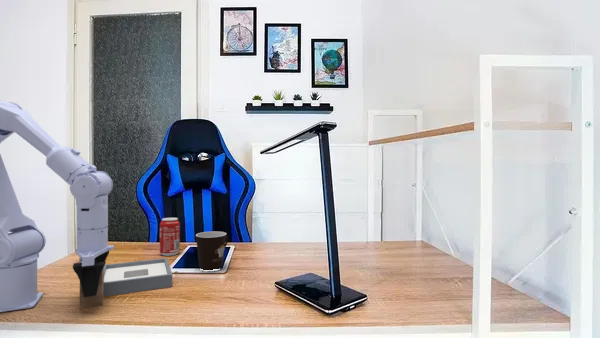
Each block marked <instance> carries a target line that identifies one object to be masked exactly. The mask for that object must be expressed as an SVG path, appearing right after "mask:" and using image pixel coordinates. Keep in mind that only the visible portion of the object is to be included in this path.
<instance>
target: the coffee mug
mask: <svg viewBox="0 0 600 338" xmlns="http://www.w3.org/2000/svg"><path fill="white" fill-rule="evenodd" d="M195 238H196V239H195V240H196V248H197V249H196V250H197V259H198V266H199V269H200V268H201V269H203V270H213V269H219V268H221V267H222V268H223V264H224V256H225V249H226V247H227V245H228V243H229V237H228V235H227V232H224V231H214V230H213V231H203V232H198V233H196V234H195Z"/></svg>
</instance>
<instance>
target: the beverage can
mask: <svg viewBox="0 0 600 338" xmlns="http://www.w3.org/2000/svg"><path fill="white" fill-rule="evenodd" d="M178 219H179V218H178V217H163V218H162V219H161V221H160V223H159V253H160V254H161V256H164V257H171V256H176V255H177V254H178V253H179V252H180V250H181V246H180V245H181V237H180V236H181V222H180V221H179V220H178Z"/></svg>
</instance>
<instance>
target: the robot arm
mask: <svg viewBox="0 0 600 338" xmlns="http://www.w3.org/2000/svg"><path fill="white" fill-rule="evenodd" d="M14 133H15V134H17V135H18V136H19V137H20V138H21V139H23V140H24V141H26V142H27V144H28V143H29V145H30V146H32V147H33V148H34V149H36V150H37V151H38V152H40V153H41V154H42V155H43V156H45V157H46V158H45V164H46V166H47V167H48V168H49V169H50V170H52V171H53V172H54V173H55V174H56V175H57V176H59V177H60V178H61V179H62V180H63V181H64V182H65V183H66V184H68V185H69V190H70V194H71V195H72V196H73V198H74V199H75V206H76V249H75V253H74V254H75V255H76V256H78V258H79V257H80V258H81V259H82V263H80V262H75V263H73V265H72V269H73V271H74V273H76V276H77V277H78V279H79V284H80V283H81V288H82V292H83V295H84V297H90V296H96V294H97V290H98V285H99V279H100V275H101V272H102V269H103V267H104V266H105V265H107V264H106V263H107V261H106V260H107V257H108V256H109V253H110V251H113V250H114V248H115V246H114V245H113V244H112V245H110V244H108V243H109V239H108V238H109V233H108V231H109V202H108V201H109V194H110V193H111V192H112V190H113V188H114V183H113V182H114V181H113V179H112V178H111V176H110V175H109V174H108V173H107V172H106V171H99V170H98V169H97V166H95V165H94V164H90V163H89V162H88V161H87V160H86V159H84V157H83V156H81V155H80V154H81V153H82V152H81V151H80V150H79V149H77V148H72V147H70V146H61V145H60V144H59V143H58V142H57V141H56V140H55V139H54V138H53V137H52V136H51V135H50V134H49V133H48V132H47V131H46V130H45V129H44V128H43V127H42V126H41V125H40V124H39V123H38V122H37V121H36V120H35V119H34V118H33V117H32V115H31V113H30V112H28V111H27V110H25V109H24V108H23V107H22V106H21V105H20V104H18V103H15V102H9V101H4V100H0V144H1V143H2V142H4V141H5V140H6V139H8V138H9V137H10V136H12V135H13V134H14ZM46 239H47V238H46V236H45V234H44V232H43V231H41V229H40V228H38V227H37V224H36V221H34V220H33V219H32V218H30V217H29V216H27V215H25V214H24V213H23V211H22V209H21V206H20V203H19V200H18V198H17V195H16V192H15V190H14V187H13V184H12V181H11V179H10V175H9V174H8V171H7V168H6V166H5V163H4V160H3V157H2V155H1V154H0V313H4V312H9V311H17V310H24V309H30V308H31V309H32V308H34V307H35V306H36V305H37V304H38V302H39V301H40V299H41V298H42V297H43V296H44V292H42V291H41V292H38V258H40V252H42V251H43V250H44V248H45V246H46V243H47V240H46Z"/></svg>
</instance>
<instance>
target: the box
mask: <svg viewBox="0 0 600 338" xmlns="http://www.w3.org/2000/svg"><path fill="white" fill-rule="evenodd" d="M171 287H173V273H172V269H171V266H170V262H169V259H168V258H167V257H165V258H156V259H148V260H147V259H146V260H145V259H144V260H137V261H136V260H134V261H128V262H116V263H110V264H109V263H108V264H105V266H104V297H108V296H109V297H110V296H117V295H118V296H119V295H123V294H131V293H138V292H146V291H151V290H157V289H158V290H159V289H166V288H171Z"/></svg>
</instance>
